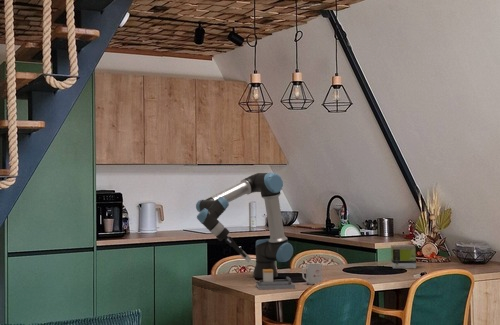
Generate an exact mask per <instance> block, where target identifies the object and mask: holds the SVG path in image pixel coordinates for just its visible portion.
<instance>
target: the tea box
mask: <svg viewBox="0 0 500 325" xmlns="http://www.w3.org/2000/svg"><path fill="white" fill-rule="evenodd" d="M390 249H391V257H390V258H391V267H392V269H417V256H416V255H417V254H416V253H417V251H416V250H417V249H416V245H414V244H391V245H390Z"/></svg>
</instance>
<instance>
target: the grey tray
mask: <svg viewBox="0 0 500 325" xmlns="http://www.w3.org/2000/svg"><path fill="white" fill-rule="evenodd" d="M255 286H256V288H257V289H258V290H260V291H261V289H263V290H287V289H289V290H290V289H291V290H292V288H293V289H296V284H295V283H294V282H292V278H290V277H289V276H285V279H284V278H283V279H282V278H281V279H273V282H263V279H259V281H257V282H255Z"/></svg>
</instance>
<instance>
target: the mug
mask: <svg viewBox="0 0 500 325" xmlns="http://www.w3.org/2000/svg"><path fill="white" fill-rule="evenodd" d="M301 272H302V273H301V277H302V279H303V280H304V281H305V282H306V284H307V285H309V286H311V285H312V286H314V285H313V284H315V283H318V282H321V281H322V280H323V279H322V277H323V276H322V274H323V273H322V263H306V264H305V267H302V268H301ZM321 283H322V282H321Z"/></svg>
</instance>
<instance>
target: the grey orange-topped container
mask: <svg viewBox="0 0 500 325" xmlns="http://www.w3.org/2000/svg"><path fill="white" fill-rule="evenodd" d="M262 280H263V282H273V280H274V278H273V270H272V269H263V278H262Z"/></svg>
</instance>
